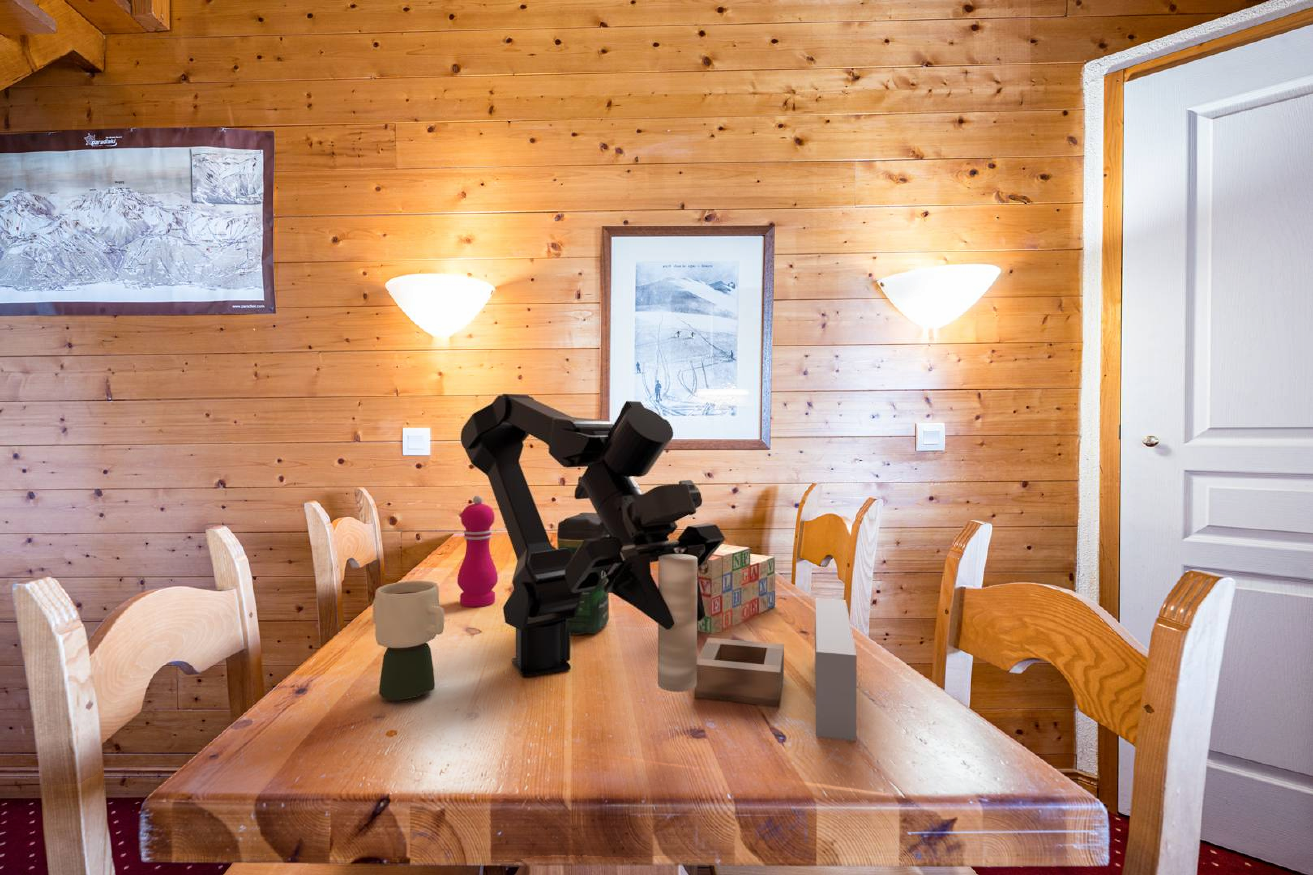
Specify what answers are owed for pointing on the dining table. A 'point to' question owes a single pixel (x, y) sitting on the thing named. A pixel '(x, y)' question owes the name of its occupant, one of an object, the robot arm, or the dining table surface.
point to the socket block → (740, 672)
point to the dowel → (678, 623)
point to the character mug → (407, 636)
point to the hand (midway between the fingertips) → (686, 622)
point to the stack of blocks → (735, 587)
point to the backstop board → (834, 671)
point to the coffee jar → (596, 600)
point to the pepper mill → (477, 556)
